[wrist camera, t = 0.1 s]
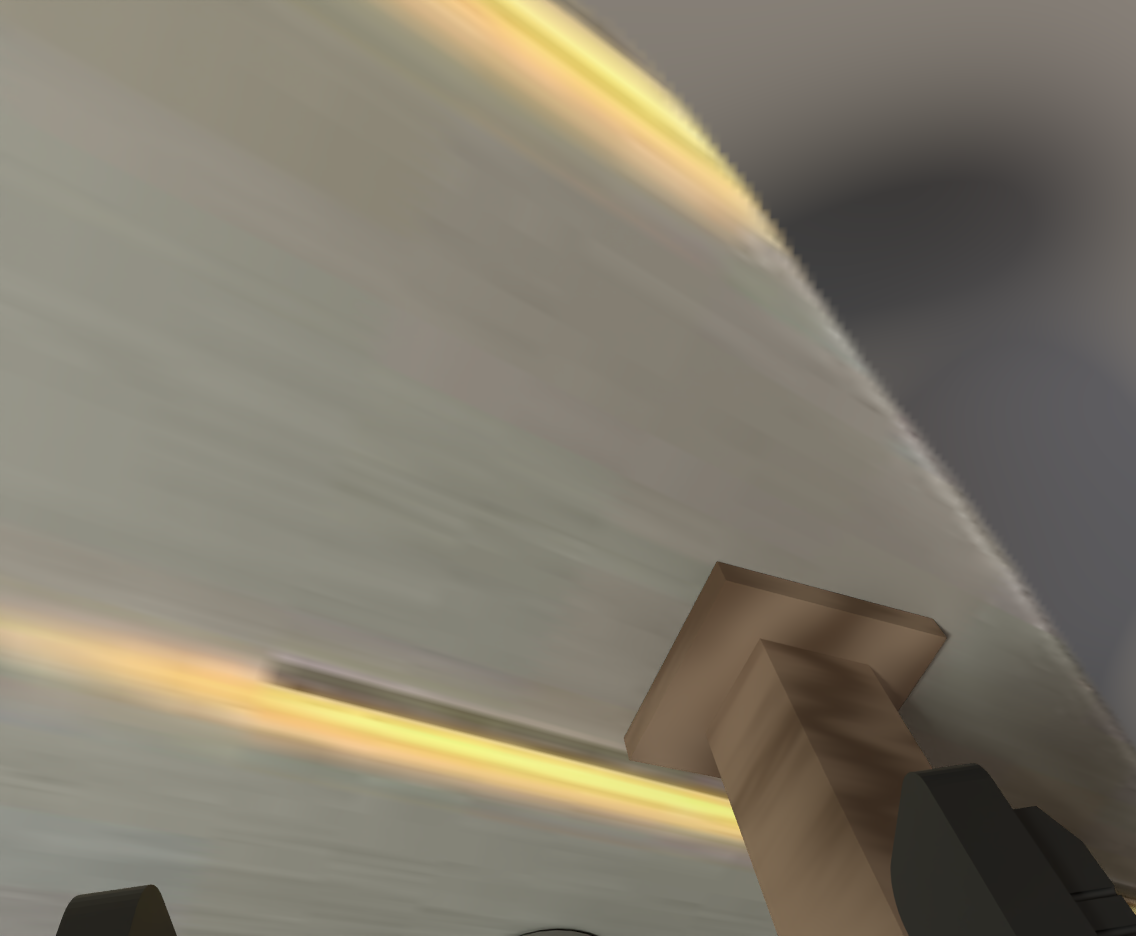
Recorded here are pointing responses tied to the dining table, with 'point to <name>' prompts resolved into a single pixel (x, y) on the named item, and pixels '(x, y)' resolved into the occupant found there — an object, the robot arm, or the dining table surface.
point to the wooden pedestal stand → (797, 737)
